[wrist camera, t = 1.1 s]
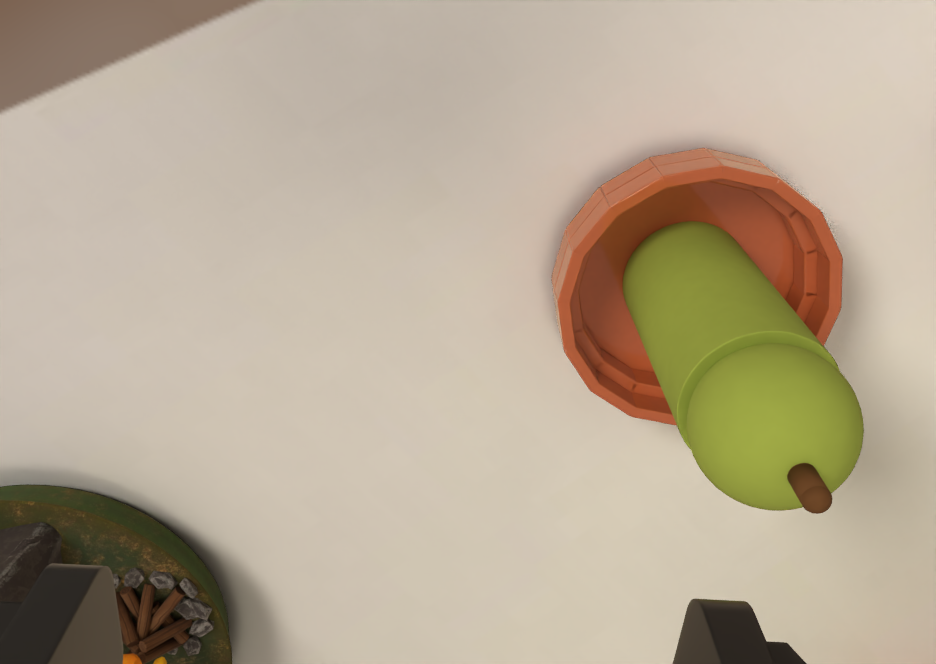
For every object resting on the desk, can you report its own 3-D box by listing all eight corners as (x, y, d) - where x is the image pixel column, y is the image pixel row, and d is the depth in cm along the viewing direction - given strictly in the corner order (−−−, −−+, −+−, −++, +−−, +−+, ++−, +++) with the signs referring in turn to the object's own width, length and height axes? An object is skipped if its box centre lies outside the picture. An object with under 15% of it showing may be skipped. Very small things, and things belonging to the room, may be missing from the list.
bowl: (593, 118, 33) (606, 138, 30) (854, 178, 34) (890, 203, 32) (523, 360, 38) (528, 397, 35) (754, 406, 39) (778, 445, 36)
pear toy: (644, 208, 34) (765, 405, 21) (765, 235, 35) (959, 444, 21) (607, 322, 36) (693, 566, 23) (721, 345, 37) (871, 597, 24)
